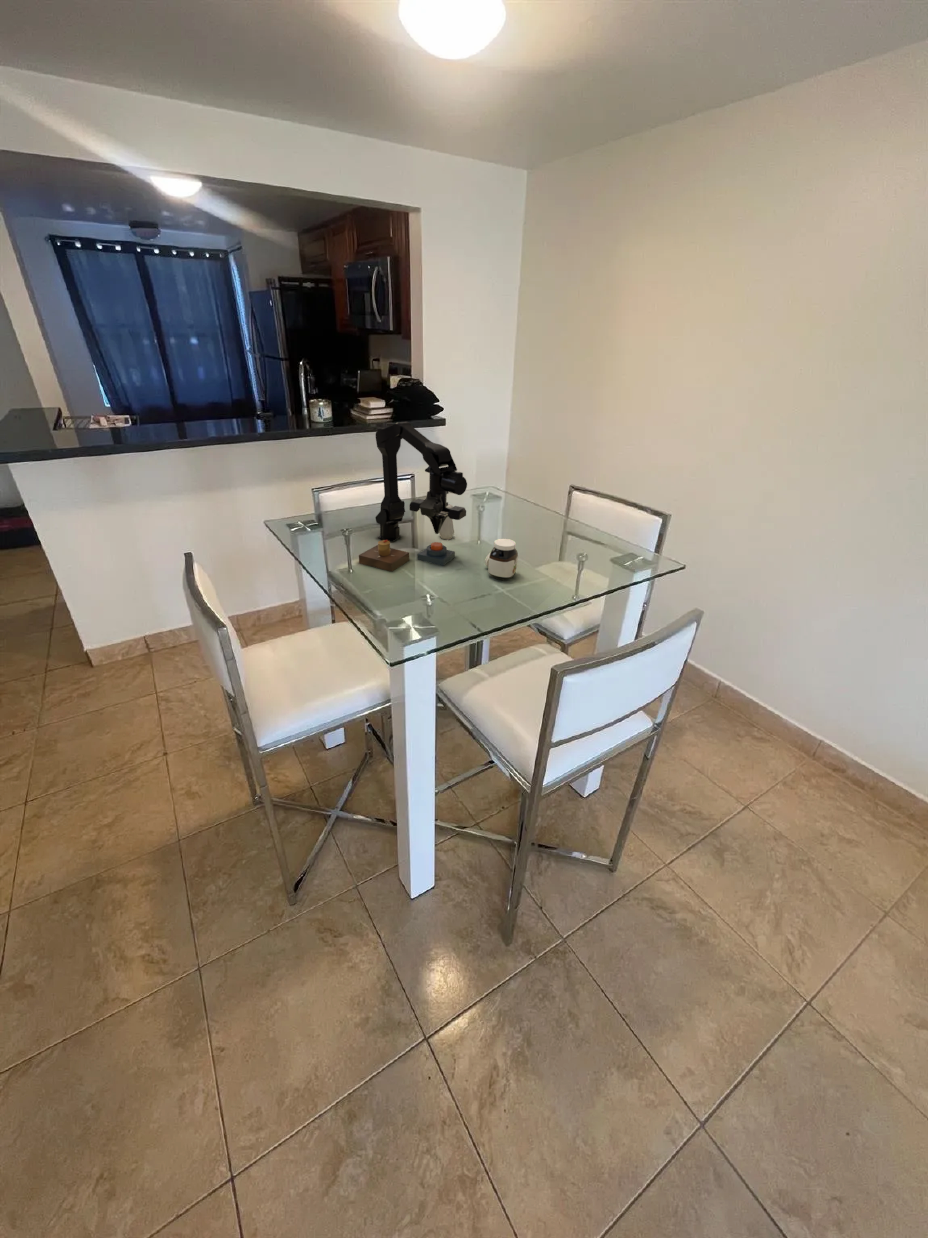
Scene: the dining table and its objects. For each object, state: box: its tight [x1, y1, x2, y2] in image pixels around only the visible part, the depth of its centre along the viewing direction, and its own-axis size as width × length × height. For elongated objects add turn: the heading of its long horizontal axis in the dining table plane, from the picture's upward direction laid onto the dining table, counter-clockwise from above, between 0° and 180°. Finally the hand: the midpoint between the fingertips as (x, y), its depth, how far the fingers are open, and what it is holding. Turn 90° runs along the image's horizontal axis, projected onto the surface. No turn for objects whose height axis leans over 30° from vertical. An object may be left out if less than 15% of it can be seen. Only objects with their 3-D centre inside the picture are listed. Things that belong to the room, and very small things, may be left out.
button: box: [430, 541, 444, 550], centre depth 176 cm, size 4×4×2 cm
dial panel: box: [358, 544, 410, 572], centre depth 172 cm, size 13×11×3 cm
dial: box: [377, 539, 391, 556], centre depth 171 cm, size 4×4×4 cm
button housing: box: [417, 544, 456, 567], centre depth 177 cm, size 10×9×4 cm
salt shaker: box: [438, 503, 455, 541], centre depth 193 cm, size 6×6×13 cm
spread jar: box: [484, 538, 519, 581], centre depth 167 cm, size 12×11×12 cm
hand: (437, 533), depth 173 cm, fingers closed
